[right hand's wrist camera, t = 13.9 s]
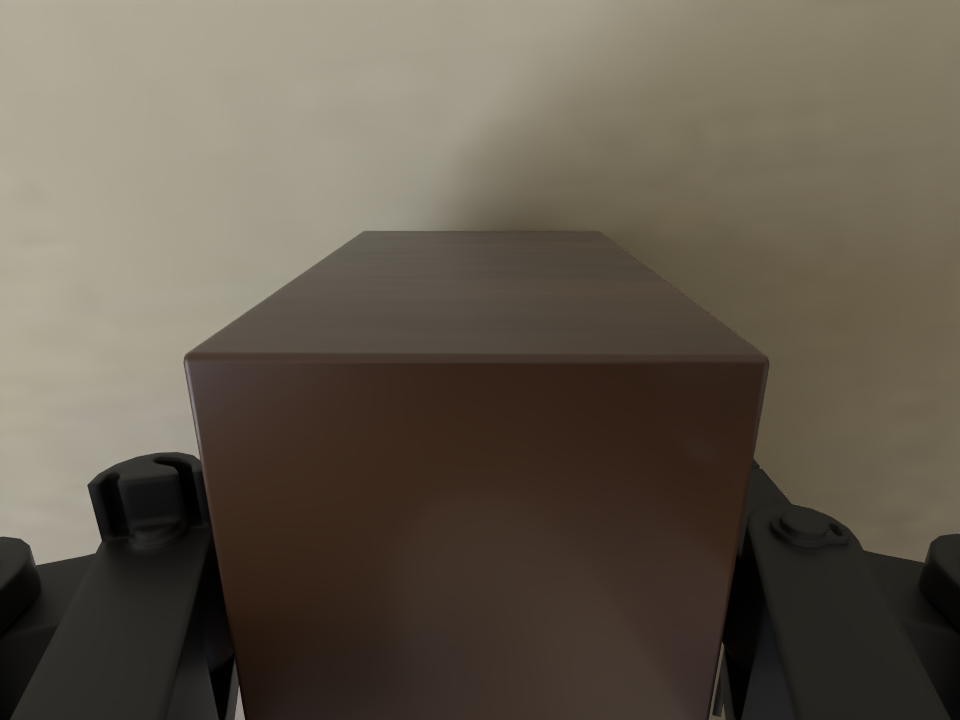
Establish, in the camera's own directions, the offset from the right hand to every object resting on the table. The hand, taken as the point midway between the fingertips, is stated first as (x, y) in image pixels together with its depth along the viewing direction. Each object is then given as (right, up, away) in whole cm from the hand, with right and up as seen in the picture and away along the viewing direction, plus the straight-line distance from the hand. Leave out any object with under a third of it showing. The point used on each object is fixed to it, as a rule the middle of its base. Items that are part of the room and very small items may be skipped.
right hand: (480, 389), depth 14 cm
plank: (0, -12, +4) cm, 12 cm away
